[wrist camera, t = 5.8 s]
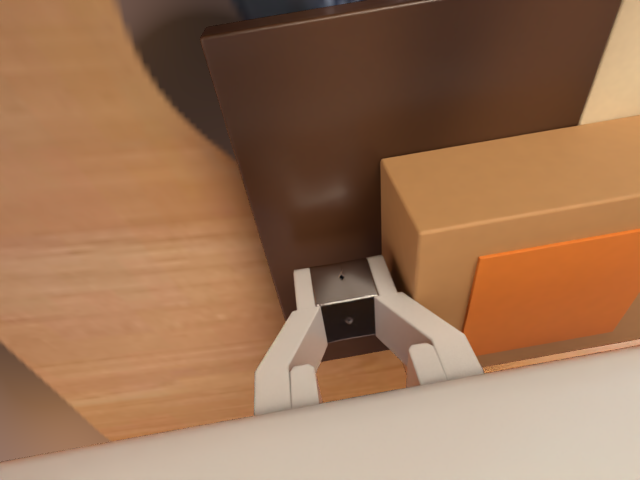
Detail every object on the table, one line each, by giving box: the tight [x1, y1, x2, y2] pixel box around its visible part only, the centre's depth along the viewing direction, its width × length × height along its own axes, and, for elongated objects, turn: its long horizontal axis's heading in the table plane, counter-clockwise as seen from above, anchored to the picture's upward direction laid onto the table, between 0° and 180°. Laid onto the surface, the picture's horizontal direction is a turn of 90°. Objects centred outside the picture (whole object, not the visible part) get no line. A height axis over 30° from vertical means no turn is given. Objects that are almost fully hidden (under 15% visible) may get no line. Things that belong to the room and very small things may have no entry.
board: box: [200, 0, 640, 362], centre depth 13 cm, size 20×14×1 cm
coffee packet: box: [380, 115, 640, 375], centre depth 11 cm, size 8×6×4 cm
